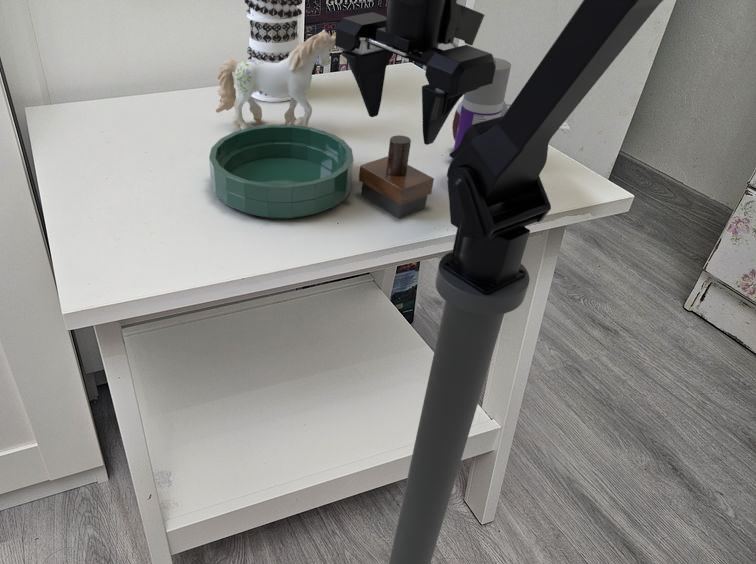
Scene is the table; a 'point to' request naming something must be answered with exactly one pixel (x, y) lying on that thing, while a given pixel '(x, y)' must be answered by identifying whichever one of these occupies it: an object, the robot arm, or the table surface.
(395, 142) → the scrub brush
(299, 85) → the unicorn figurine
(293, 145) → the wash bowl
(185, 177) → the table surface
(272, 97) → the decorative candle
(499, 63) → the container
